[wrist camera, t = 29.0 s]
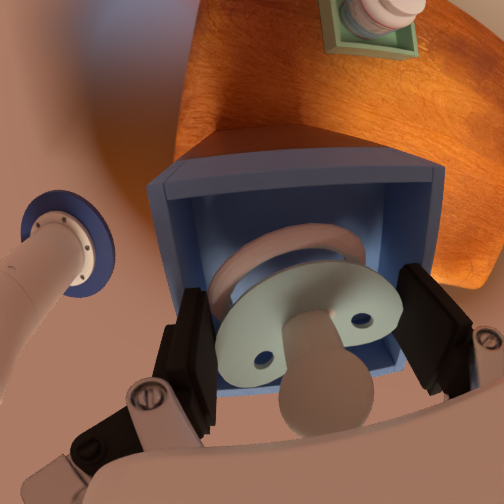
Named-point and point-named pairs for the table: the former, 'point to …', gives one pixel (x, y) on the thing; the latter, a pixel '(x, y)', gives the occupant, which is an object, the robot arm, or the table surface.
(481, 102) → the table surface
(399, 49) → the green bin
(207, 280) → the blue bin
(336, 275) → the pacifier
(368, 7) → the pill bottle
